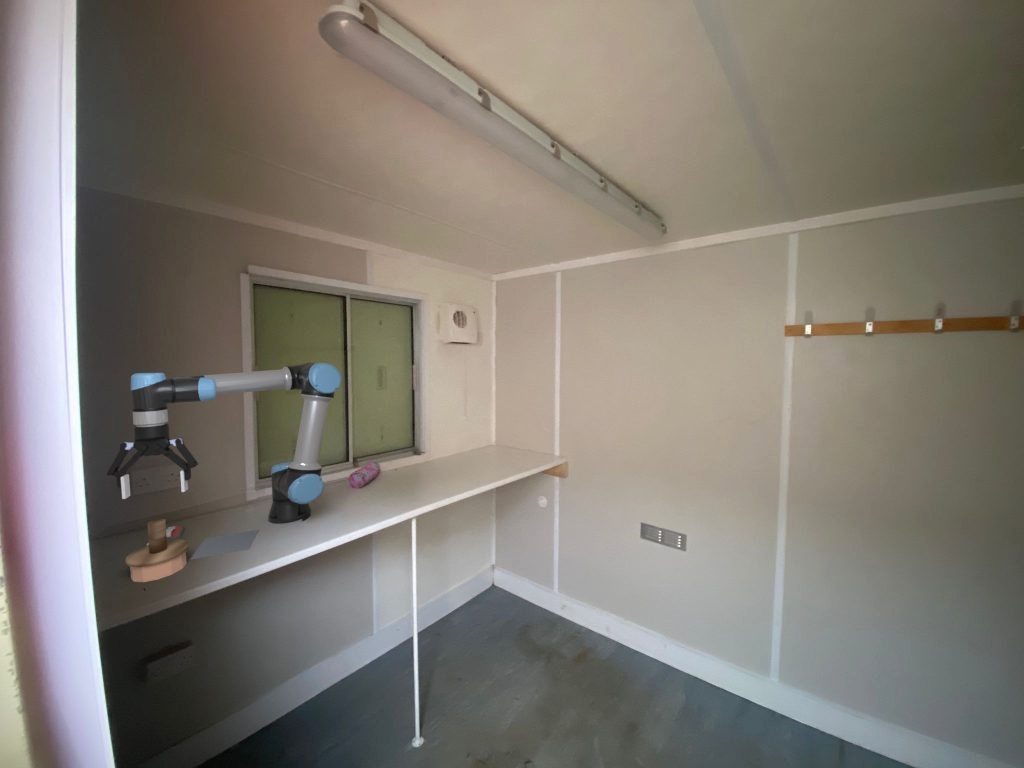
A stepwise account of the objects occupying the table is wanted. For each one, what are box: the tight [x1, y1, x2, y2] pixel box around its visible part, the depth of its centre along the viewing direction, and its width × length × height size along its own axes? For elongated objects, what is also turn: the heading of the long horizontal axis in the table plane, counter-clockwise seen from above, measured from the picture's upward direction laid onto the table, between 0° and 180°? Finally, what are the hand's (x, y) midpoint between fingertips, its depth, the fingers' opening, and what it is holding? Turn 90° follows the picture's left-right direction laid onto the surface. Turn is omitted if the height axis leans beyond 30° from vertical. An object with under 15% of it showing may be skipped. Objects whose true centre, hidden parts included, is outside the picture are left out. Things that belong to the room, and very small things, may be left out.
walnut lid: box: [125, 518, 190, 567], centre depth 114 cm, size 14×14×10 cm
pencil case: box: [348, 461, 381, 489], centre depth 199 cm, size 21×9×9 cm, turn 175°
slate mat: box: [188, 529, 259, 561], centre depth 131 cm, size 16×16×1 cm
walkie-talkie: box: [146, 524, 185, 546], centre depth 133 cm, size 9×4×20 cm
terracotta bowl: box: [129, 551, 187, 583], centre depth 114 cm, size 12×12×6 cm
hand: (156, 494), depth 113 cm, fingers open, 13 cm apart
